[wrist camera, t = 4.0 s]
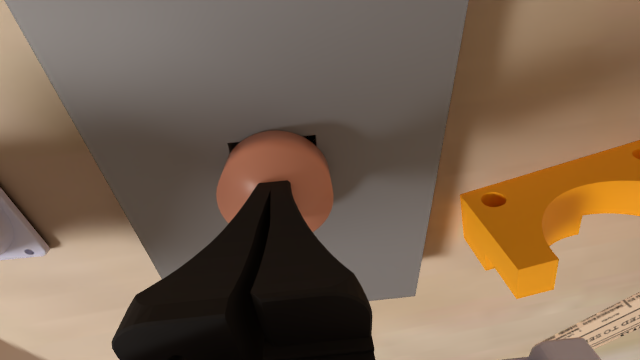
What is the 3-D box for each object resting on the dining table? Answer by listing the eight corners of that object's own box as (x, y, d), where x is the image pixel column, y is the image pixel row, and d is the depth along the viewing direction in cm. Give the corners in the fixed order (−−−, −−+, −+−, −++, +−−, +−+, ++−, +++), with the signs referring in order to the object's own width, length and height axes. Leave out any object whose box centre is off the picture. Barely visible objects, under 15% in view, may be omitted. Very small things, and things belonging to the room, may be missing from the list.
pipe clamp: (462, 236, 23) (515, 315, 17) (458, 193, 20) (518, 270, 15) (633, 187, 21) (749, 257, 16) (650, 134, 19) (793, 197, 13)
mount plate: (197, 283, 23) (185, 320, 21) (15, -103, 11) (-69, -128, 8) (402, 262, 23) (415, 296, 21) (453, -136, 11) (498, -169, 9)
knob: (244, 190, 18) (231, 247, 14) (224, 112, 15) (201, 156, 12) (327, 183, 18) (335, 236, 14) (321, 103, 15) (330, 144, 12)
